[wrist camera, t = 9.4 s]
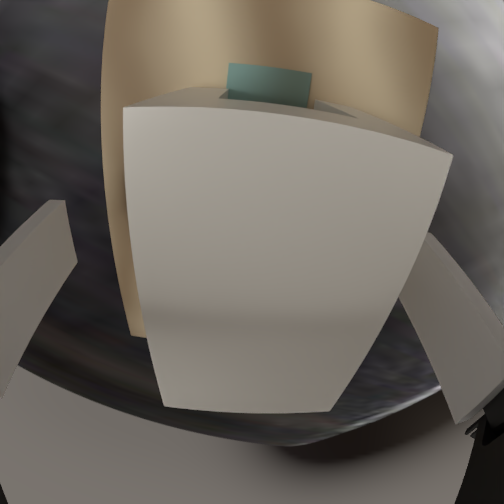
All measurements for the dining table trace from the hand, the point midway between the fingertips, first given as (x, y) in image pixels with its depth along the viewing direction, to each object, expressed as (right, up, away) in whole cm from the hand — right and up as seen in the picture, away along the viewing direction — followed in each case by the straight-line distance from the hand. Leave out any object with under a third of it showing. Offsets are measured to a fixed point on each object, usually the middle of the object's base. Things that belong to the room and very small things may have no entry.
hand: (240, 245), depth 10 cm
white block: (+1, +2, +3) cm, 3 cm away
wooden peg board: (0, +3, +4) cm, 5 cm away
